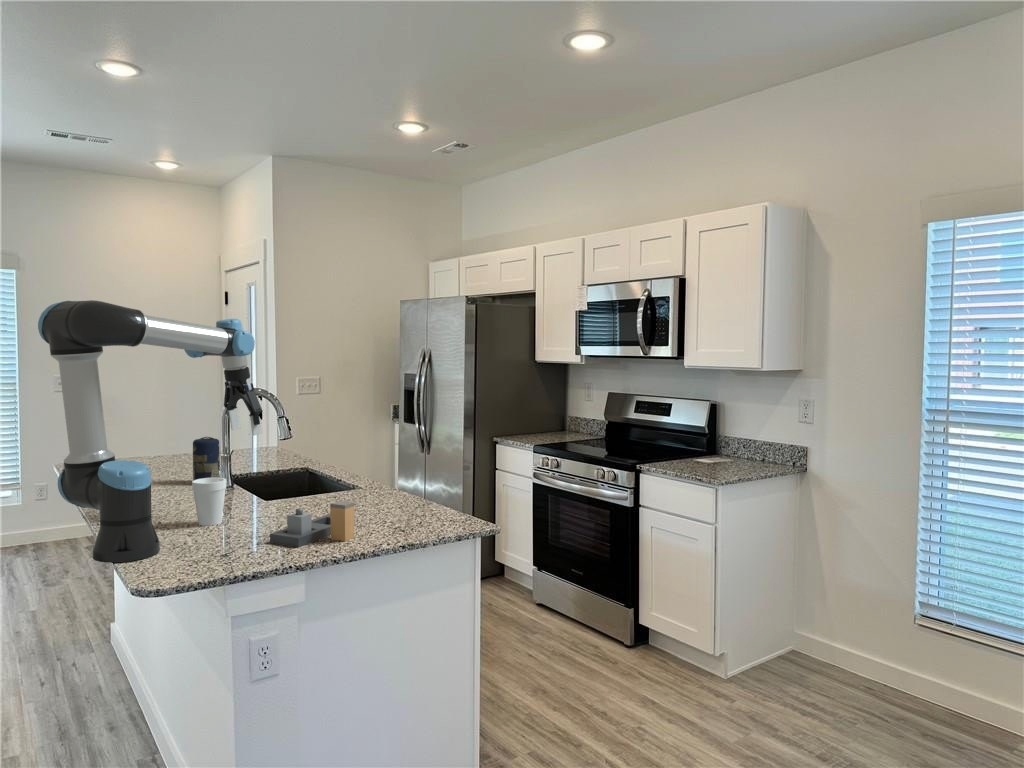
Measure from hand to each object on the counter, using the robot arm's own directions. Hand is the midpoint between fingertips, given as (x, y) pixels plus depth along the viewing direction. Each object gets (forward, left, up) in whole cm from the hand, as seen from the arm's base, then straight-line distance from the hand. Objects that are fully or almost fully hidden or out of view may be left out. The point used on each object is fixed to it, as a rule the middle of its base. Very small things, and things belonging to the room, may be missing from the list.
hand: (246, 431), depth 233 cm
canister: (+25, +46, -25) cm, 58 cm away
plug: (-15, -50, -25) cm, 58 cm away
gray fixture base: (-15, -40, -25) cm, 50 cm away
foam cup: (-19, -4, -25) cm, 32 cm away
